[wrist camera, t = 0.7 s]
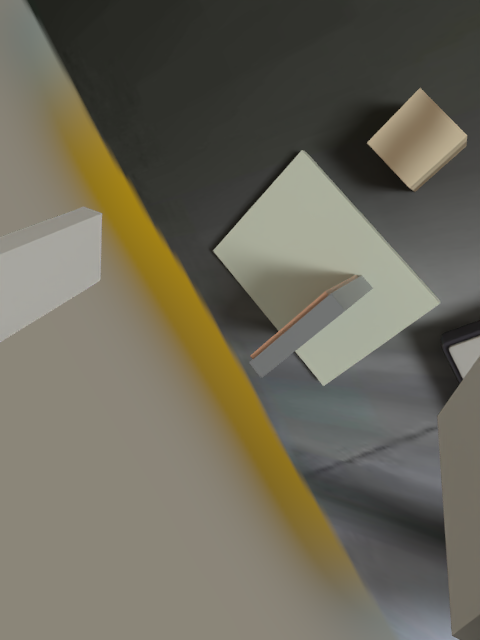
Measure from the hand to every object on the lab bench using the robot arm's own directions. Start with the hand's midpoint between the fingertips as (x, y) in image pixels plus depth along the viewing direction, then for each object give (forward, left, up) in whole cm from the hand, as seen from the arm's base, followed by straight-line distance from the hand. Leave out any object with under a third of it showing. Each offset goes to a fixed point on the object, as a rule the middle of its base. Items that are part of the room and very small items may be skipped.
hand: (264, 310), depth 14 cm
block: (+5, -8, -29) cm, 30 cm away
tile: (-1, +7, -27) cm, 28 cm away
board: (+3, +6, -28) cm, 29 cm away
